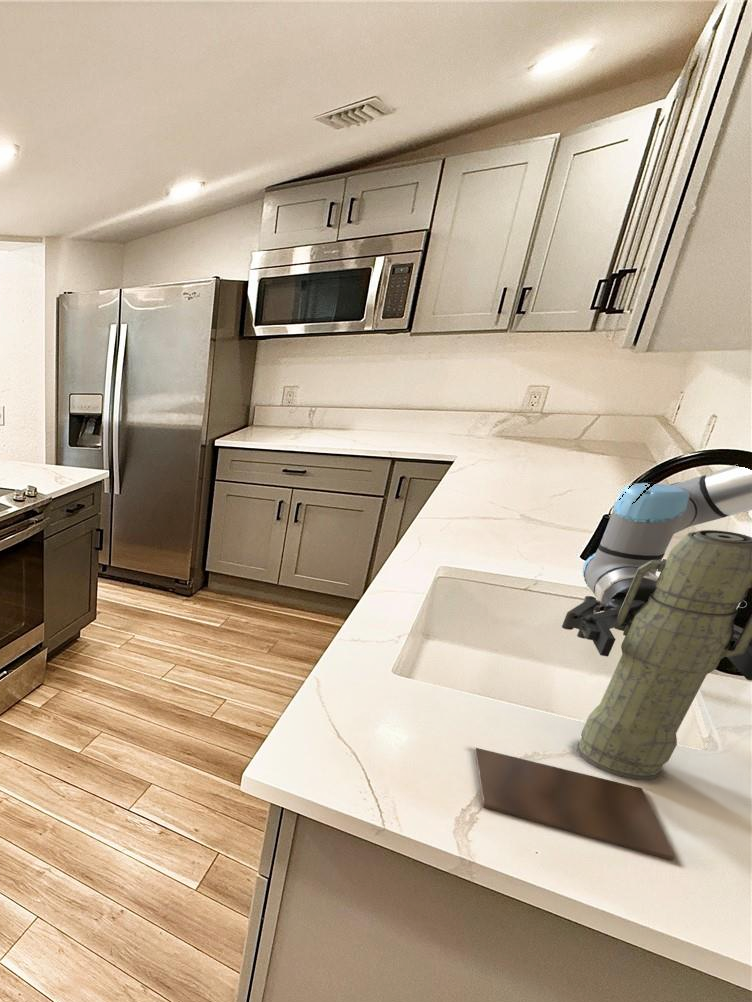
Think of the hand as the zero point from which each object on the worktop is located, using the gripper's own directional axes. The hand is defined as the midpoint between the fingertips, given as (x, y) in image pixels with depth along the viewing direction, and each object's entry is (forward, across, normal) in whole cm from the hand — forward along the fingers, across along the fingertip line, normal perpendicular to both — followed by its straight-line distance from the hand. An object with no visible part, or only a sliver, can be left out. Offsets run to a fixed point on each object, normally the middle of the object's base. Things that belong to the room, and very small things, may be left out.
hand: (679, 659), depth 80 cm
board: (+11, +8, -19) cm, 23 cm away
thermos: (-3, 0, -19) cm, 19 cm away
